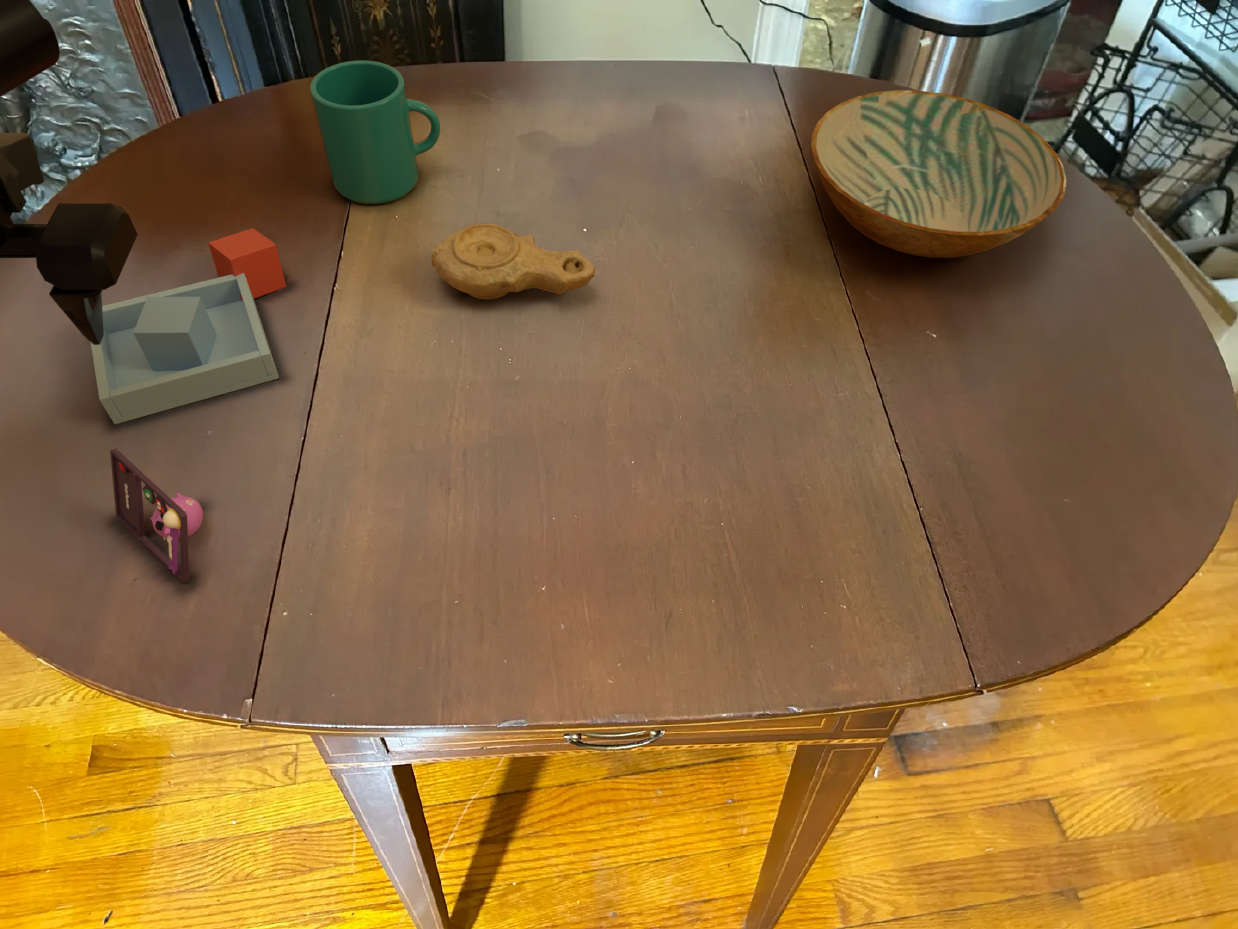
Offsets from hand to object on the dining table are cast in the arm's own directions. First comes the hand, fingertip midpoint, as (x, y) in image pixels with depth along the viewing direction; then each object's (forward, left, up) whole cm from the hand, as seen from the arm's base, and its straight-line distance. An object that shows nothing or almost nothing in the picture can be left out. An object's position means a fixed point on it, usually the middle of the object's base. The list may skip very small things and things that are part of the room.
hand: (32, 341), depth 65 cm
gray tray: (+8, +8, -12) cm, 16 cm away
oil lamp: (+38, +6, -12) cm, 40 cm away
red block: (+15, +16, -12) cm, 25 cm away
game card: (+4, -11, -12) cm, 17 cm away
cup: (+32, +27, -12) cm, 44 cm away
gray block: (+8, +8, -11) cm, 16 cm away
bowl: (+81, -1, -12) cm, 82 cm away
